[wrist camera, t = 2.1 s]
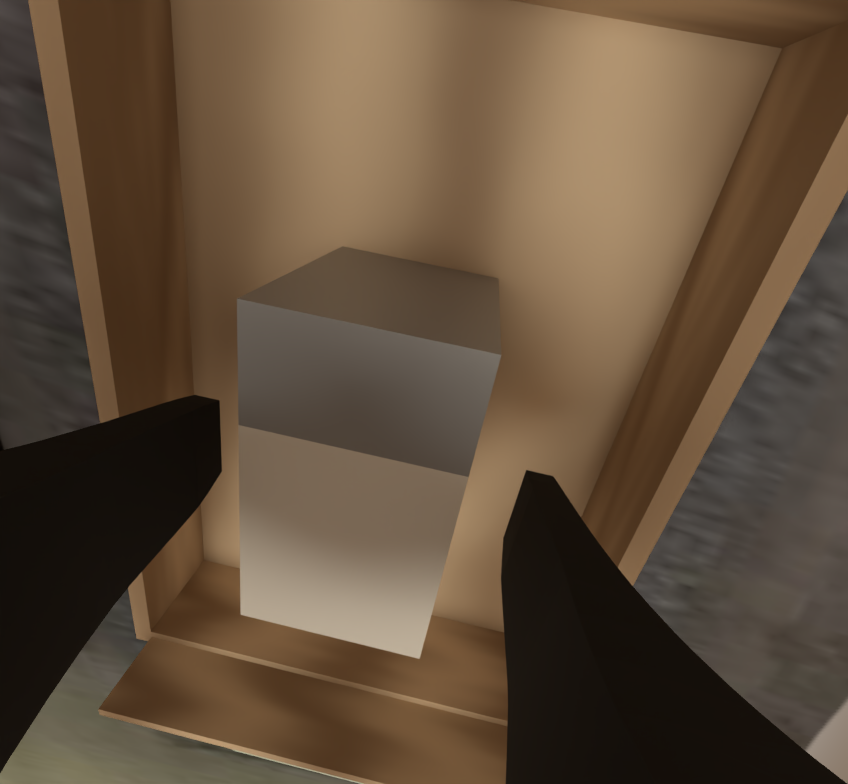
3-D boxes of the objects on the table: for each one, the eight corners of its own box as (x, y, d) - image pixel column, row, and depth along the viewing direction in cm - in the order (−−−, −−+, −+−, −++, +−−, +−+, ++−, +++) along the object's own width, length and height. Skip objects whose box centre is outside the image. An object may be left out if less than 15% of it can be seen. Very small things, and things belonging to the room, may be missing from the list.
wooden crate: (199, 556, 20) (81, 710, 15) (156, -87, 11) (-230, -382, 5) (538, 638, 20) (556, 834, 14) (808, 27, 10) (1225, -165, 4)
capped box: (322, 471, 17) (240, 614, 11) (342, 246, 13) (237, 298, 8) (443, 499, 16) (419, 658, 11) (498, 278, 13) (501, 355, 7)
